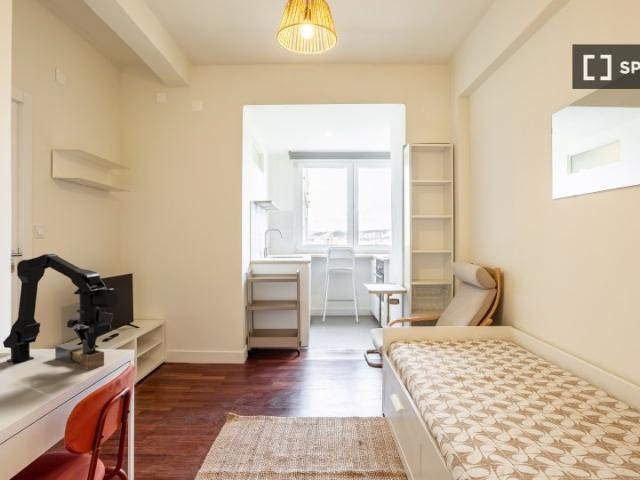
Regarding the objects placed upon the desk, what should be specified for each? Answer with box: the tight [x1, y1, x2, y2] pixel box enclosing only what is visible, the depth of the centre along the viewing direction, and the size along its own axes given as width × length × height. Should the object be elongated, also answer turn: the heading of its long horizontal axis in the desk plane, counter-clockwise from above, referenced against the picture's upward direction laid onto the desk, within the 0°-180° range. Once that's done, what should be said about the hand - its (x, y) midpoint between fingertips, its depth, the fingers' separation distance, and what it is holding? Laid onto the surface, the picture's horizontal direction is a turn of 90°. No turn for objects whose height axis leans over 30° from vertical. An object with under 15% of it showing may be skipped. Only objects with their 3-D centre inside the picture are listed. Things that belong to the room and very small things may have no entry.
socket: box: [79, 349, 105, 371], centre depth 135 cm, size 6×5×5 cm
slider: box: [71, 338, 97, 363], centre depth 138 cm, size 15×3×9 cm, turn 61°
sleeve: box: [54, 342, 83, 364], centre depth 143 cm, size 10×5×5 cm, turn 61°
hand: (89, 347), depth 136 cm, fingers closed on slider, 3 cm apart
